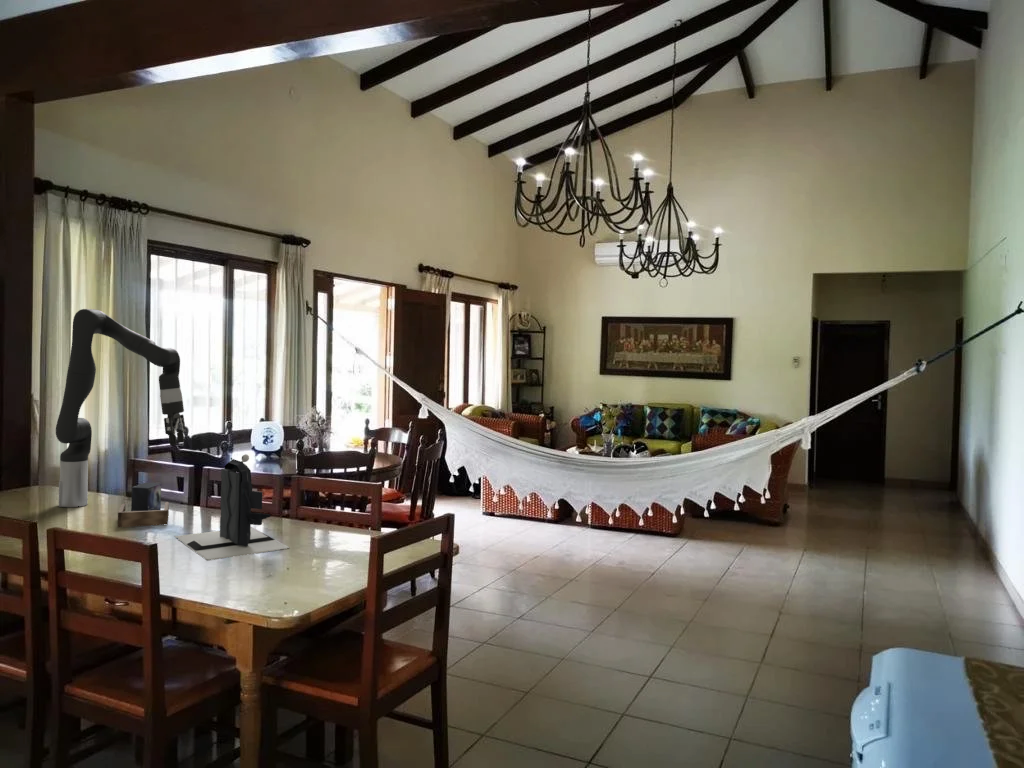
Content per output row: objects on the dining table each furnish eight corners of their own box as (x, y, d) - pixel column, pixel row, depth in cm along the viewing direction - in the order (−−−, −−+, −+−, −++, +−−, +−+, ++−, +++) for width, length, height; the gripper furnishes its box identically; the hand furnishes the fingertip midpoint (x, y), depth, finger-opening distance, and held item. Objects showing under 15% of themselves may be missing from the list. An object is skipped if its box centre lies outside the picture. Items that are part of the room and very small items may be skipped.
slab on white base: (174, 538, 247) (176, 451, 246) (251, 528, 264) (253, 447, 263) (207, 561, 223) (209, 464, 222) (289, 549, 239) (291, 459, 238)
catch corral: (117, 527, 258) (118, 512, 258) (121, 517, 272) (121, 504, 272) (167, 524, 264) (167, 510, 264) (168, 515, 278) (168, 502, 278)
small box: (147, 516, 276) (148, 487, 276) (130, 515, 276) (130, 487, 276) (161, 510, 287) (162, 482, 286) (144, 509, 287) (145, 482, 286)
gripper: (168, 400, 292) (173, 442, 293) (154, 403, 278) (160, 447, 279) (188, 398, 293) (193, 440, 294) (175, 401, 279) (181, 444, 279)
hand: (177, 443), depth 286 cm, fingers open, 8 cm apart
